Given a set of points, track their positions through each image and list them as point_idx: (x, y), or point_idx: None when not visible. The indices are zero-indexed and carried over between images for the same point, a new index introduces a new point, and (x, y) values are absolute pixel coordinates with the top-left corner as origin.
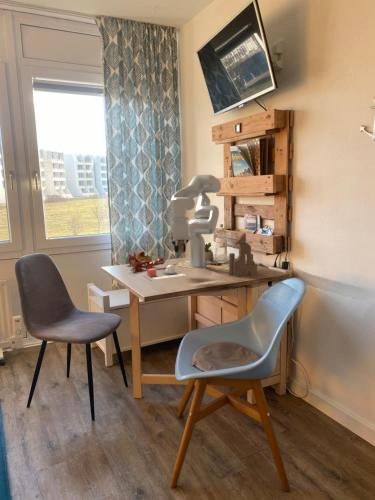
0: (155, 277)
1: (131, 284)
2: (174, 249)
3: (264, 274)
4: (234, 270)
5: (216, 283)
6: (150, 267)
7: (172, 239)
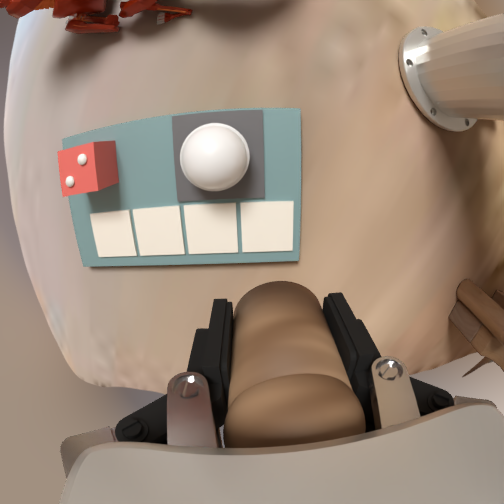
0: (106, 218)
1: (26, 241)
2: (196, 344)
3: None
4: (461, 328)
5: None
6: (139, 9)
7: (137, 450)
